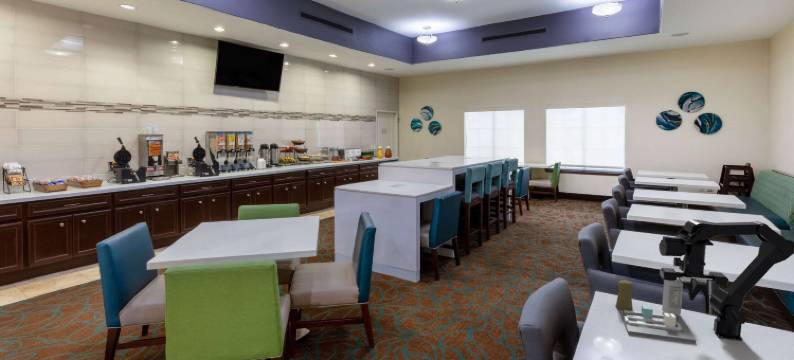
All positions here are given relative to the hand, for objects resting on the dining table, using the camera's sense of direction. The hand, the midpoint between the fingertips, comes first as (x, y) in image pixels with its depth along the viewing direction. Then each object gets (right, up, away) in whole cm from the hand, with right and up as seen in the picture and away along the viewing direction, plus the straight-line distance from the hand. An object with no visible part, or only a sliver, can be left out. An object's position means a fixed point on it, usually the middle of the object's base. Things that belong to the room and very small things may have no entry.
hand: (691, 299), depth 145 cm
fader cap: (-5, -10, +3) cm, 12 cm away
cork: (-12, -10, +22) cm, 26 cm away
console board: (-9, -12, +5) cm, 16 cm away
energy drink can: (+3, -10, +15) cm, 19 cm away
